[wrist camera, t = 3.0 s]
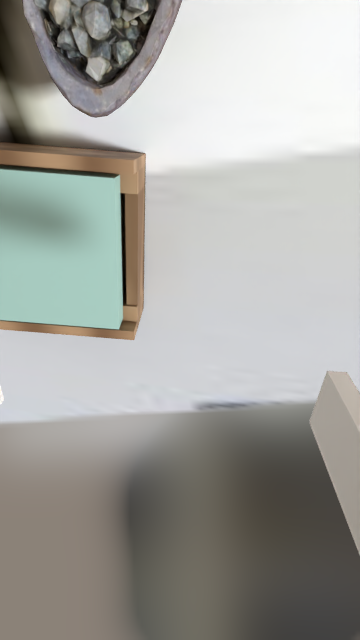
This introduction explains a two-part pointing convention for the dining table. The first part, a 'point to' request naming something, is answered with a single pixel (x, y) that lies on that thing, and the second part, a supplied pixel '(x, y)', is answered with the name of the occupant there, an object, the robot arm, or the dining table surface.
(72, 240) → the lid
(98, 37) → the planter
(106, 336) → the box
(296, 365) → the dining table surface
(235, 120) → the dining table surface
